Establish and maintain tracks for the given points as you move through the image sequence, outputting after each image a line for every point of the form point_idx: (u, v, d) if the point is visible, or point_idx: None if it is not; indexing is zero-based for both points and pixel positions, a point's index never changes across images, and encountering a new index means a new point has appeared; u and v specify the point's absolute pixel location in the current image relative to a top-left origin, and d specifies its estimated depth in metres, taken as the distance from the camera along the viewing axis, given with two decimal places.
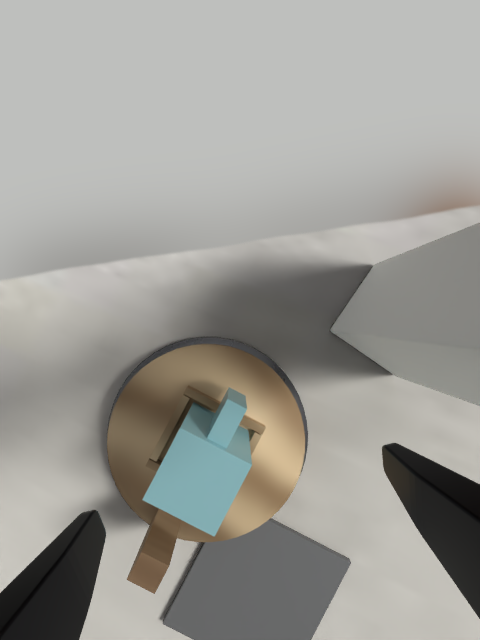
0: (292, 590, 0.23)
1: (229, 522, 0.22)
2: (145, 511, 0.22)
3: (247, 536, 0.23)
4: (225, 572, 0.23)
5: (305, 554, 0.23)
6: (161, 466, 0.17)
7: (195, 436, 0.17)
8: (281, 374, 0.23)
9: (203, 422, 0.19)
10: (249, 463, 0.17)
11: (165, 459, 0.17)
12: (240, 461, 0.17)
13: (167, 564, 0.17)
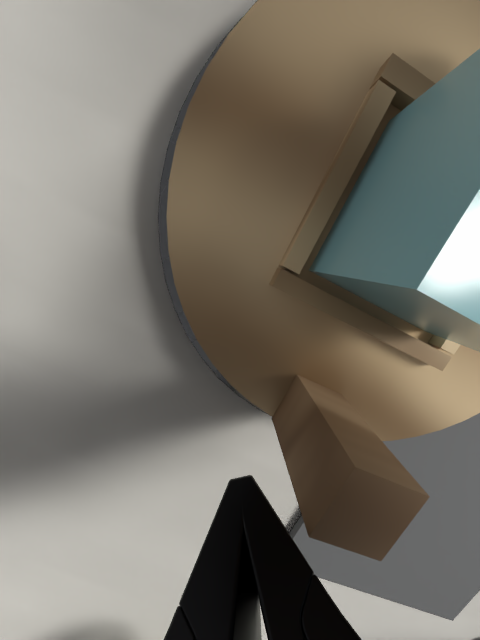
0: None
1: (433, 403, 0.11)
2: (264, 390, 0.10)
3: None
4: None
5: None
6: None
7: None
8: None
9: None
10: None
11: None
12: None
13: (423, 493, 0.06)
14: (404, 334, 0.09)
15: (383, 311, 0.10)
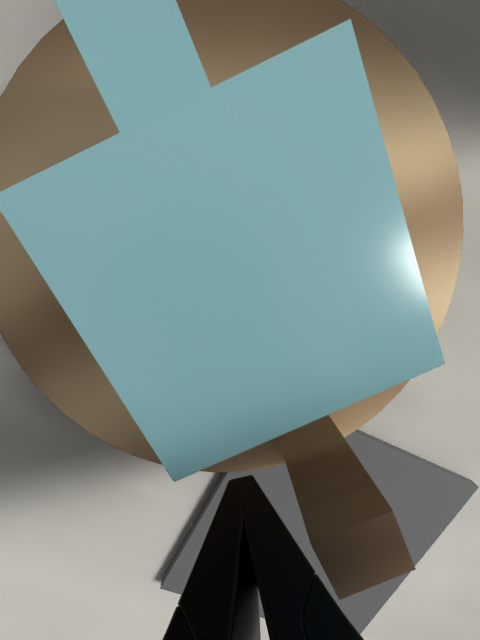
0: None
1: None
2: (265, 454, 0.11)
3: None
4: None
5: (405, 478, 0.13)
6: (107, 365, 0.04)
7: (67, 160, 0.03)
8: None
9: None
10: (336, 28, 0.03)
11: (91, 337, 0.04)
12: (298, 56, 0.03)
13: (386, 510, 0.06)
14: None
15: None
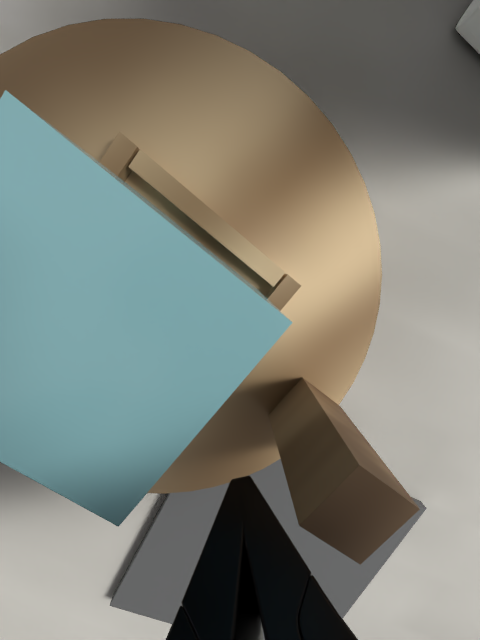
0: (324, 550, 0.14)
1: (344, 282, 0.10)
2: (276, 444, 0.11)
3: None
4: None
5: None
6: (5, 458, 0.05)
7: None
8: None
9: None
10: (1, 103, 0.04)
11: None
12: None
13: (354, 467, 0.06)
14: None
15: None
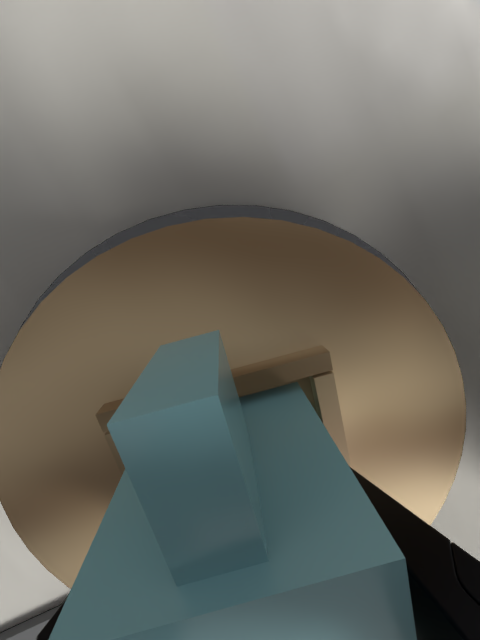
0: None
1: None
2: None
3: None
4: None
5: None
6: None
7: (120, 638, 0.04)
8: None
9: None
10: (391, 559, 0.04)
11: None
12: (353, 579, 0.04)
13: None
14: None
15: None
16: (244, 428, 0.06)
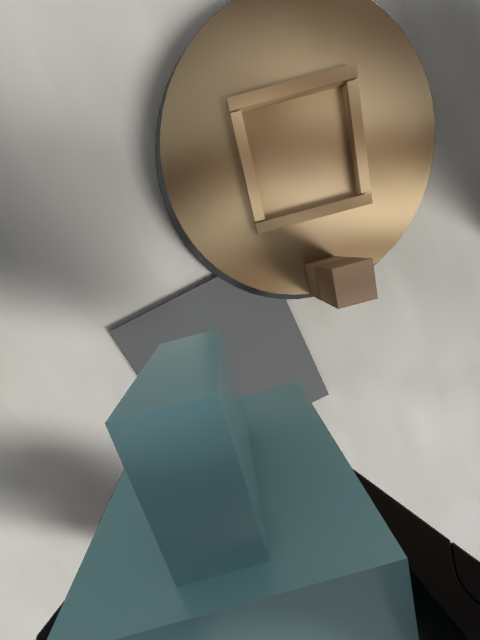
0: (259, 383, 0.20)
1: (387, 221, 0.17)
2: (294, 284, 0.17)
3: (255, 305, 0.19)
4: (208, 324, 0.19)
5: (296, 359, 0.20)
6: None
7: (119, 639, 0.04)
8: None
9: None
10: (393, 560, 0.04)
11: None
12: (355, 579, 0.04)
13: (369, 259, 0.13)
14: (337, 202, 0.16)
15: (320, 200, 0.16)
16: (244, 427, 0.06)
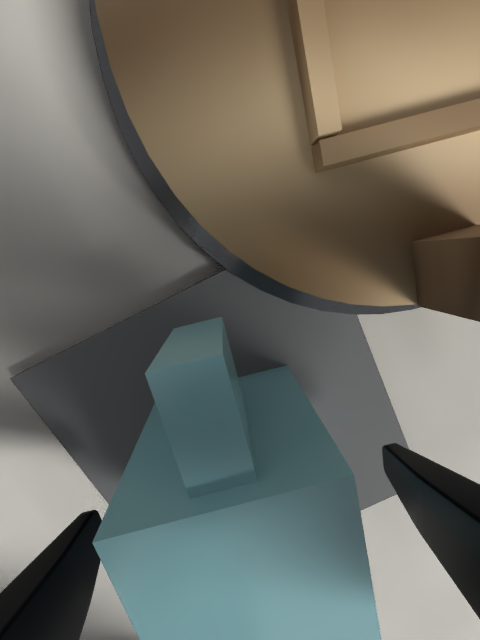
0: None
1: None
2: (390, 284, 0.08)
3: (298, 326, 0.10)
4: None
5: (369, 425, 0.11)
6: (143, 635, 0.06)
7: (150, 527, 0.05)
8: None
9: None
10: (344, 476, 0.05)
11: (136, 618, 0.06)
12: (316, 489, 0.05)
13: None
14: None
15: (459, 96, 0.07)
16: (241, 395, 0.07)
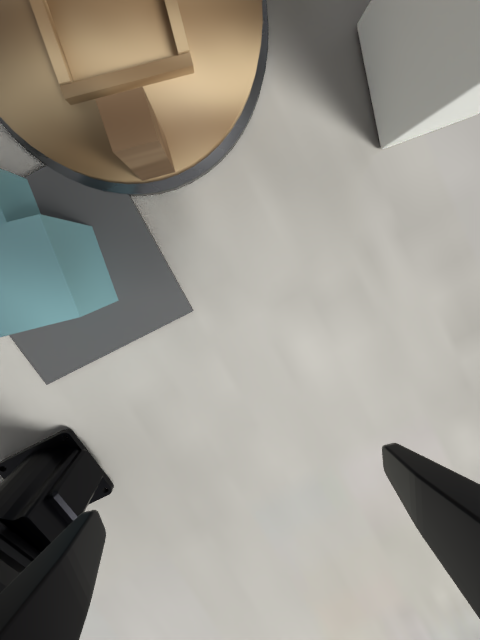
0: None
1: (220, 94, 0.15)
2: (123, 167, 0.16)
3: (95, 202, 0.17)
4: None
5: (150, 268, 0.18)
6: None
7: None
8: (263, 23, 0.15)
9: None
10: (36, 215, 0.12)
11: None
12: (24, 220, 0.12)
13: (140, 88, 0.11)
14: (152, 63, 0.14)
15: (138, 65, 0.15)
16: (32, 215, 0.15)
